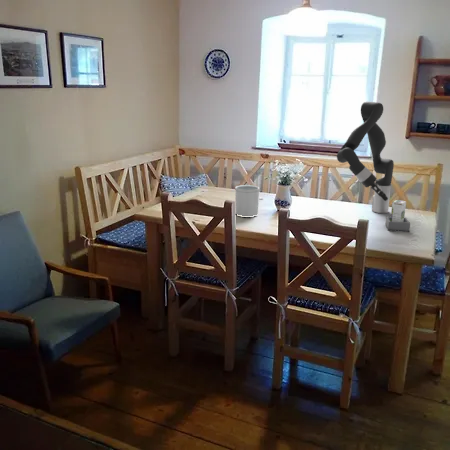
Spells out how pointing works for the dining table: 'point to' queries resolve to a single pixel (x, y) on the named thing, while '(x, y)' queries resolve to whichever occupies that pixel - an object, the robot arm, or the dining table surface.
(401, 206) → the syrup box
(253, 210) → the utensil holder
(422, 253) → the dining table surface
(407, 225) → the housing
